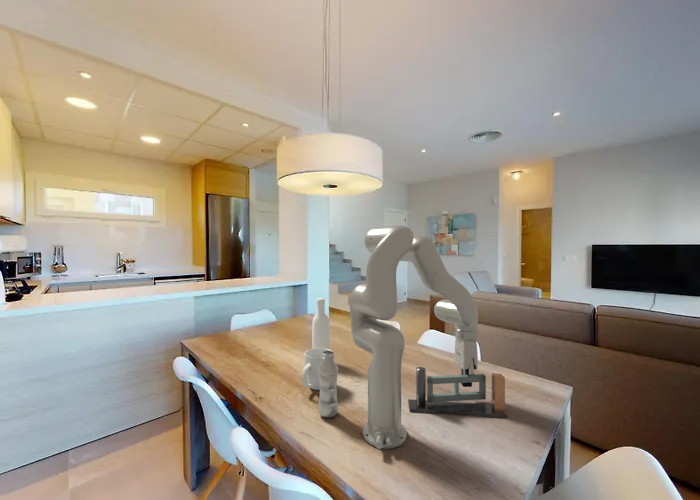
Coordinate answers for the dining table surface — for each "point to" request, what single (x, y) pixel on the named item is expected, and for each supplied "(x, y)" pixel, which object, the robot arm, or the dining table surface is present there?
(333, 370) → the plastic bottle
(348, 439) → the dining table surface
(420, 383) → the gate frame
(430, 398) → the gate
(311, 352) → the mug
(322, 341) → the bottle
